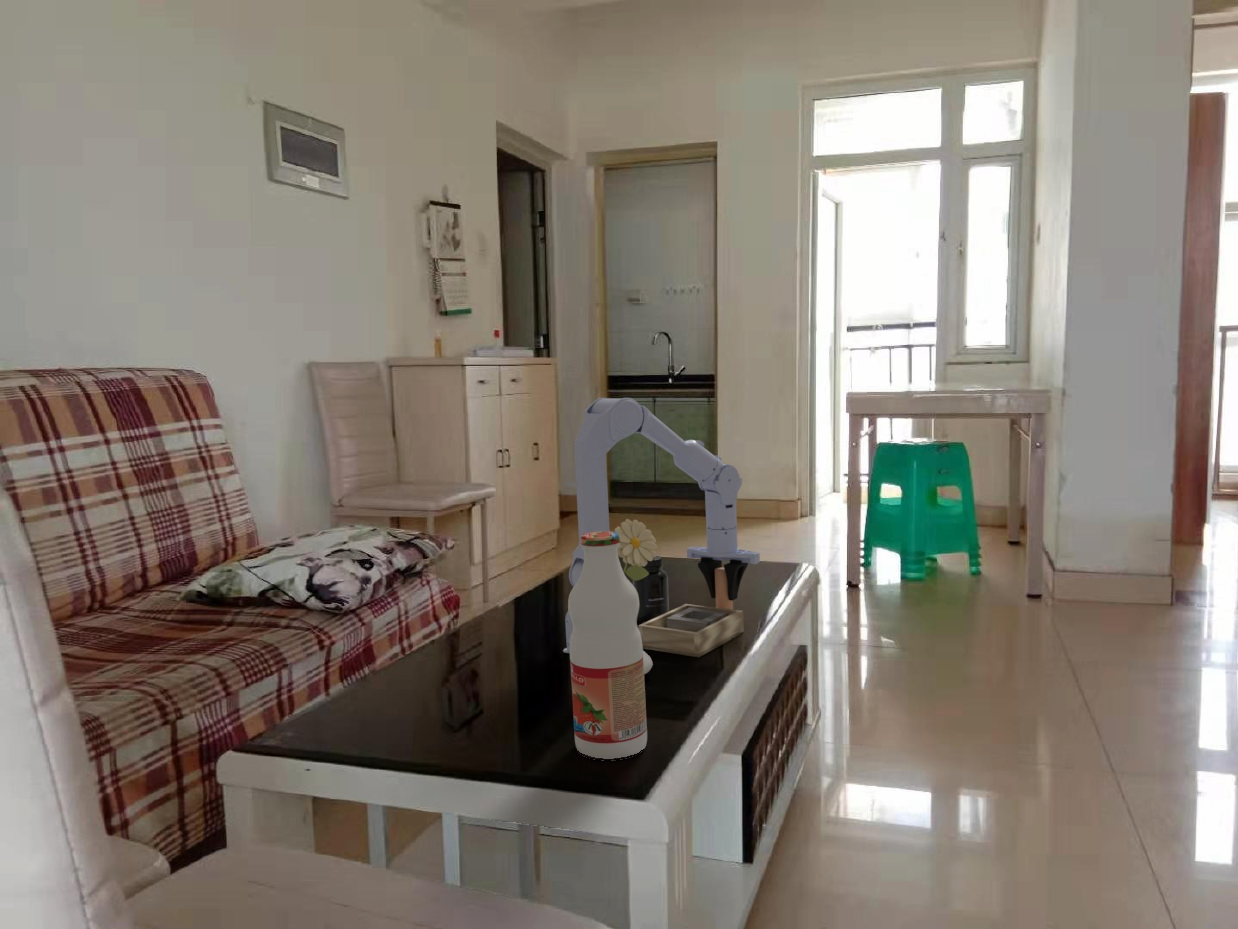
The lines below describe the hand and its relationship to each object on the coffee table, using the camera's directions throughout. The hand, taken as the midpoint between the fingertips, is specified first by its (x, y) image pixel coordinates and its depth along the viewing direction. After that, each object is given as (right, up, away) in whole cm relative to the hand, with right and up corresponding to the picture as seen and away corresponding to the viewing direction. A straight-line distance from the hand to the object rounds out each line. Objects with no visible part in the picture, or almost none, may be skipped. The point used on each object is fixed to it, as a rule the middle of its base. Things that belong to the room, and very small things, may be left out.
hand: (724, 598), depth 176 cm
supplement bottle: (-13, -5, +5) cm, 15 cm away
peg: (0, -3, 0) cm, 3 cm away
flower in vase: (-19, -9, -27) cm, 34 cm away
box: (-7, -6, -10) cm, 14 cm away
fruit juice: (-21, -12, -55) cm, 60 cm away
